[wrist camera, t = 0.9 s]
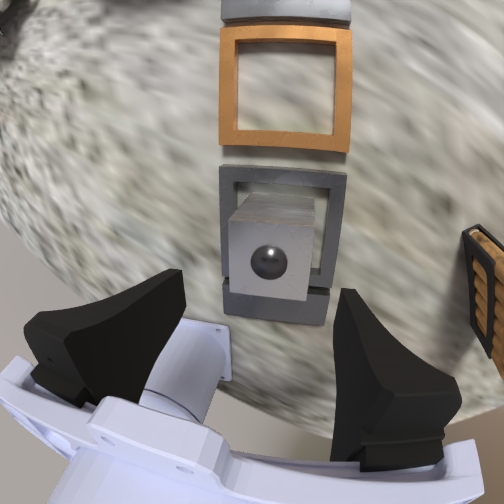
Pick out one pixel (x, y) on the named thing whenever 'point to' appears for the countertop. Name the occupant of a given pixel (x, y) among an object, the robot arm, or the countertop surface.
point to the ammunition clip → (486, 291)
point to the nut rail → (284, 141)
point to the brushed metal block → (271, 246)
